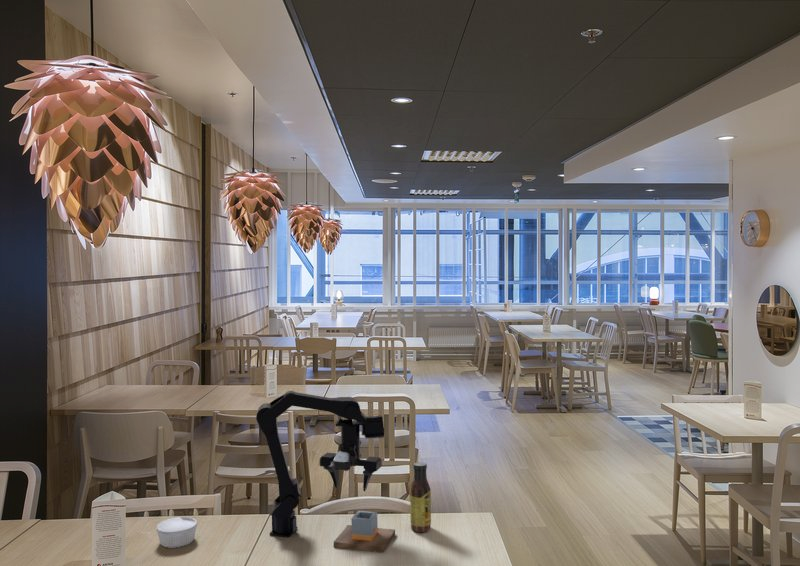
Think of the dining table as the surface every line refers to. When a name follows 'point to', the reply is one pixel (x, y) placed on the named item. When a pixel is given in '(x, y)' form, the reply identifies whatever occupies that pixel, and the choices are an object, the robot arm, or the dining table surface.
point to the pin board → (376, 544)
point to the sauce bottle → (420, 499)
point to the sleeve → (364, 525)
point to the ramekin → (176, 531)
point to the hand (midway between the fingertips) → (350, 489)
